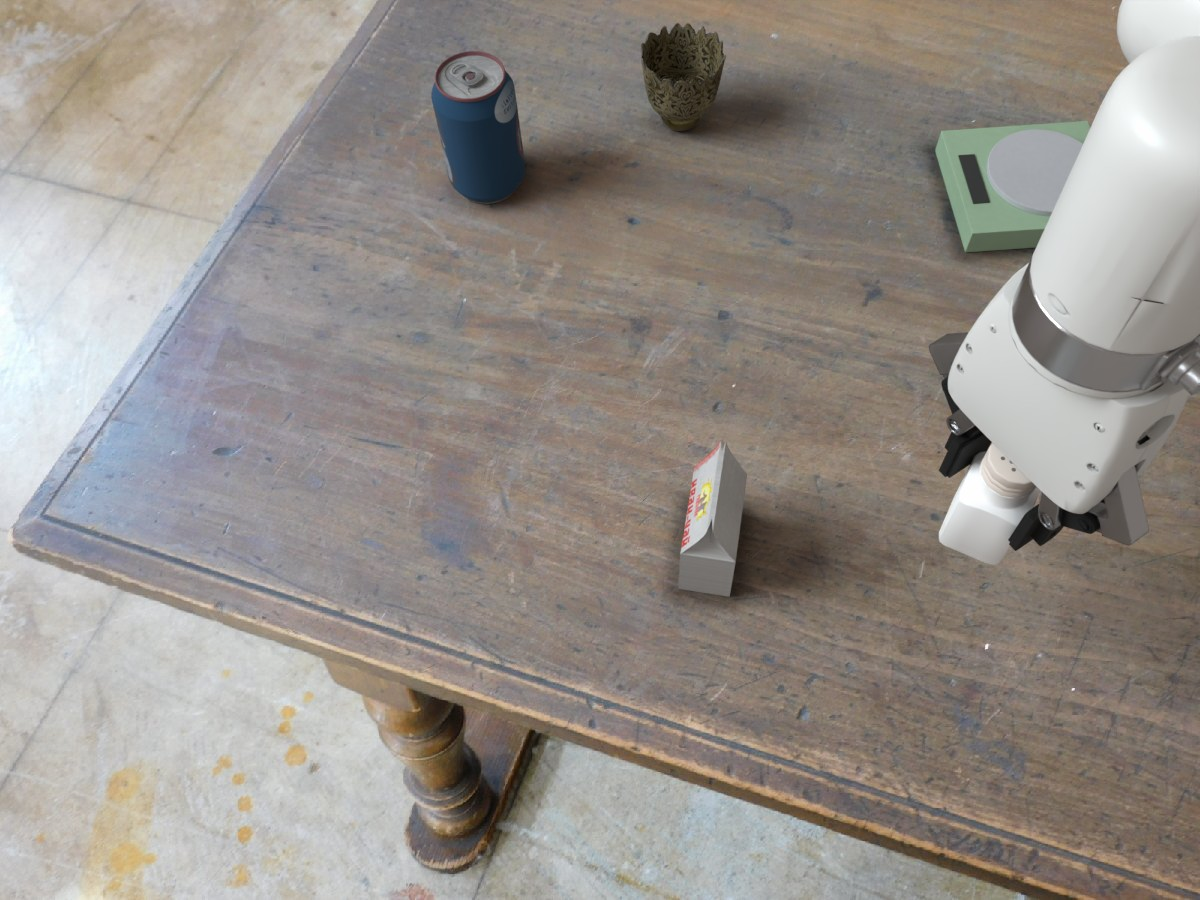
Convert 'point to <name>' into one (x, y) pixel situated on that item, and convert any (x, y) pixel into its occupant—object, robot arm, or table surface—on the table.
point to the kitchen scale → (1007, 180)
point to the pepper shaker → (988, 507)
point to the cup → (682, 73)
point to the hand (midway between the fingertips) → (996, 496)
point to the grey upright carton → (712, 524)
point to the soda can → (479, 126)
